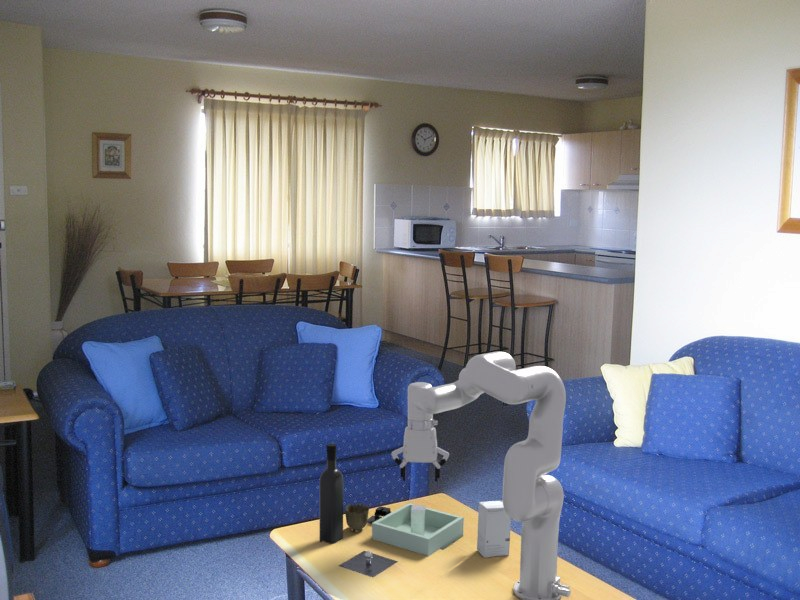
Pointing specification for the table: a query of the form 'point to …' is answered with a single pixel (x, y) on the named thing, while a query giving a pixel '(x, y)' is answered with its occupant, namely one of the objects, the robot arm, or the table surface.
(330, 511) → the wine bottle
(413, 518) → the strut
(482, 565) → the table surface
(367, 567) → the stud plate
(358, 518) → the cup
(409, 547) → the bin
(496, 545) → the skincare box
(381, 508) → the black slotted box
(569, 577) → the table surface
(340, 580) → the table surface
